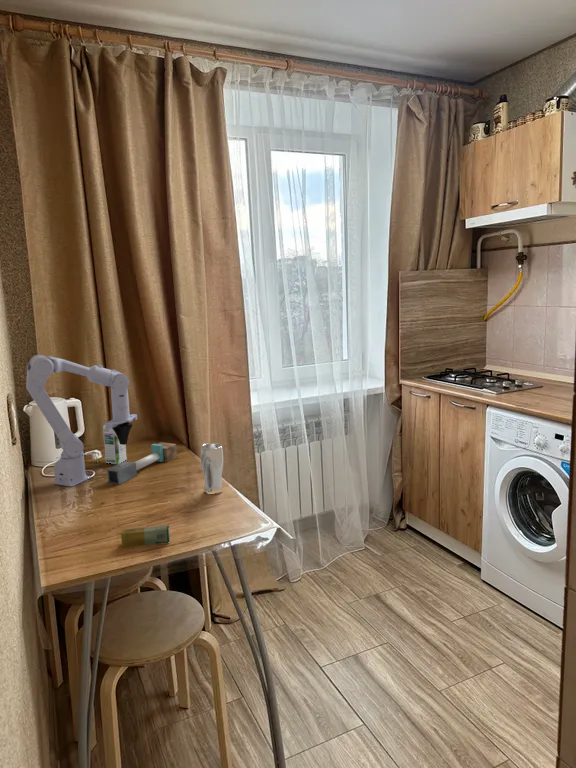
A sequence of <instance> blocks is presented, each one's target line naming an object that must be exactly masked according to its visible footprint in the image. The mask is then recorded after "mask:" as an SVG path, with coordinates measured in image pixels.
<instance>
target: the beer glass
mask: <svg viewBox="0 0 576 768" xmlns="http://www.w3.org/2000/svg"><path fill="white" fill-rule="evenodd" d="M200 462H201V468H202V473H203V477H204V488H203V491H204V490H205V491H208V492H212V491H217V490H219V489H221V488H222V486H223V481H222V479H223V478H222V477H223V469H224V452H223V444H221V443H217V442H209V443H204V444H202V445H201V446H200Z"/></svg>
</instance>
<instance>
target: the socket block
mask: <svg viewBox="0 0 576 768" xmlns="http://www.w3.org/2000/svg"><path fill="white" fill-rule="evenodd" d="M158 444H161V445H163V450H164V461H163V462H164V463H165V462H166V463H169V462H170V461H172V460H174V459H176V458H178V453H177V444H176V443H171V442H169V443H168V442H161V441H160V442H158Z"/></svg>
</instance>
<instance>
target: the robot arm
mask: <svg viewBox="0 0 576 768" xmlns="http://www.w3.org/2000/svg"><path fill="white" fill-rule="evenodd" d="M60 372H68V373H72V374H75V375H80V376H84V377H86V378H87V380H88V381H89V382H90V383H95V384H98V385H101V386H105V387H110V393H111V394H110V397H111V407H112V408H111V411H112V419H110V420H109V421H107V422H106V423H104V425H105V429H113V430H114V432H115V433H116V435H117V437H118V440H119V443H120V444H122V445H125V444H126V445H127V444H128V440H129V434H130V432H131V429H132V427H133V423H132V422H133V421H137V420H138V414H137V413H132V414H130V413H131V412H130V402H129V401H130V400H129V399H130V398H129V392H128V387H130V383H131V381H130V380H129V377H128V376H127V375H126V374H124V373H122V372H120V371H117V370H116V369H114V368H113V369H109V368H105V367H104V366H103V365H102V364H97V365H92V366H90V367H88V366H85V365H82V364H79V363H76V362H73V361H70V360H67V359H64V358H59V357H54V356H51V355H50V356H49V355H48V356H46V355H43V354H36V355H33V356H32V357H31V358H30V360H29V362H28V364H27V366H26V382H25V385H26V386H25V388H26V390H27V392H28V394H29V395H30V396H31V398H32V400H33V401H34V403H35V404H36V406H37V407H38V409H39V410H40V412H41V413H42V415H43V417H44V418H45V419H46V421H47V423H48V424H49V426H50V427H51V429H52V430H53V432H54V433H55V435H56V437H57V439H58V440H59V441H58V443H59V446H60V448H61V450H62V452H61V453H60V458H59V459H58V460H57V461H55V463H54V466H53V467H54V477H55V481H54V482H53V484H54V485H59V486H66V487H71V488H72V487H74V486H76V485H79V484H81V483H82V482H85V481H88V480H90V479H91V478H90V477H92V476H91V475H87V474H86V464H85V454H84V449H85V447H84V446H85V444H84V442H82V440H81V439H79V437H78V436H77V434H74V433H73V432H72V430H71V429H70V427H69V425H68V424H67V422H66V421H65V419H64V418H63V416H62V415H61V413H60V412H59V410H58V408H57V406H56V405H55V404H54V401H52V399H51V397H50V396H49V394H48V393H47V391H46V390H45V386H46V383H47V381H48V379H49V377H50V376H51V375H52V374H53V373H55V374H58V373H60ZM88 477H89V478H88Z"/></svg>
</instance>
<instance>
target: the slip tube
mask: <svg viewBox="0 0 576 768" xmlns="http://www.w3.org/2000/svg"><path fill="white" fill-rule="evenodd" d="M150 449H151V454H149V455H146V456H145V457H143V458H140V459H138V460H136V461H133V462H134V463H136V471H137V472H138V470H140V469H143V468H144V467H145V468H146V466H148V465H151V464H152V463H155V462H159V463H162V462H164V450H163V445H161V444H159V443H153V444H151V448H150Z"/></svg>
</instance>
